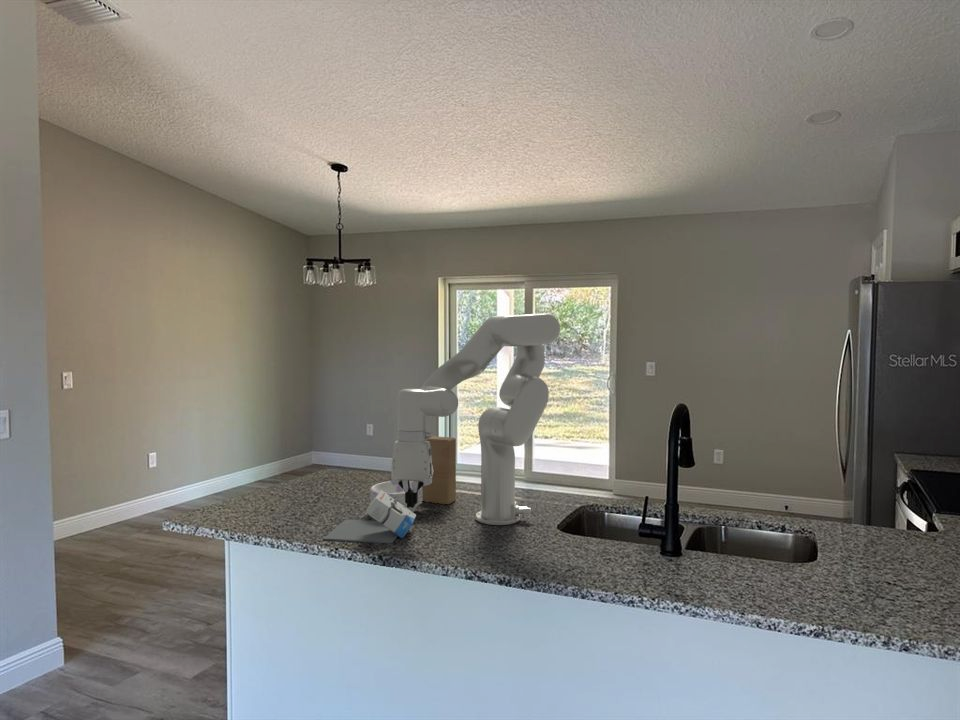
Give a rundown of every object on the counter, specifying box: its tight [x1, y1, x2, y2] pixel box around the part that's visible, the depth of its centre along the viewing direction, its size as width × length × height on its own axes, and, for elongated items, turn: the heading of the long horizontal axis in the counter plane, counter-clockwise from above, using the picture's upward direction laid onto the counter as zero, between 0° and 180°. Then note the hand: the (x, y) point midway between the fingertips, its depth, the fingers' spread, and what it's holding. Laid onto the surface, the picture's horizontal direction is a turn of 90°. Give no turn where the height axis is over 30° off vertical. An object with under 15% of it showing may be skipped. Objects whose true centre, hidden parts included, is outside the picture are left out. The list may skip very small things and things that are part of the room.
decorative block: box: [422, 435, 457, 505], centre depth 191 cm, size 11×6×20 cm, turn 65°
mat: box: [322, 519, 399, 544], centre depth 162 cm, size 18×16×1 cm
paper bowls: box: [369, 480, 423, 513], centre depth 179 cm, size 15×15×8 cm
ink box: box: [364, 490, 417, 539], centre depth 160 cm, size 8×5×12 cm
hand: (411, 506), depth 160 cm, fingers closed
